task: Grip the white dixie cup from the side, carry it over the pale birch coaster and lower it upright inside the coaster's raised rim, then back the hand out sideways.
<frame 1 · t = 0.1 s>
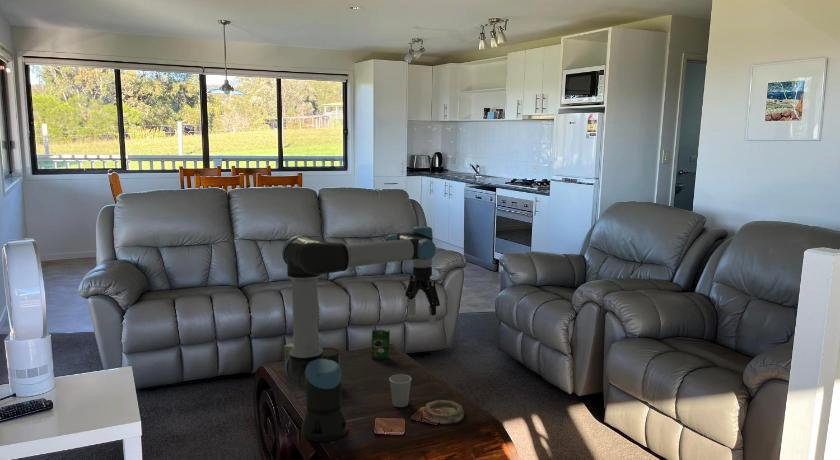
hand: (421, 318, 237), 28 cm above the table, tool pointing down, fingers open, 13 cm apart
rimmed coaster: (443, 414, 215), on the table
coffee box: (380, 358, 272), on the table
skincare box: (293, 373, 254), on the table
dixie cup: (400, 404, 224), on the table
coffee can: (327, 385, 241), on the table
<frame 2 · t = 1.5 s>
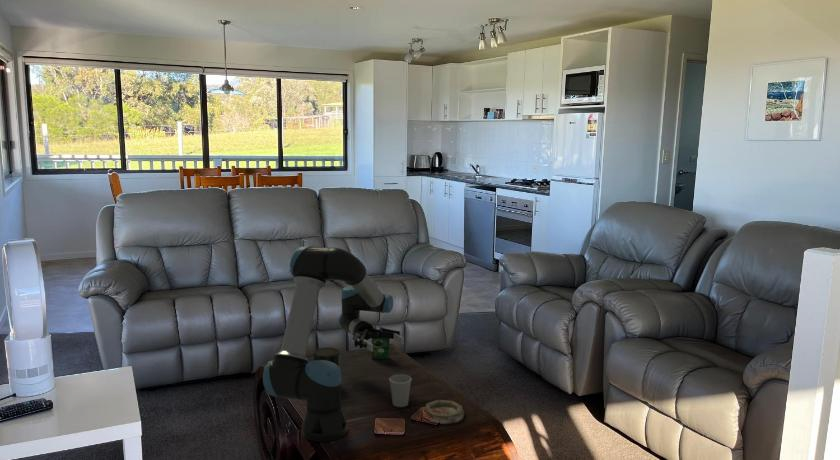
hand: (387, 344, 229), 20 cm above the table, tool horizontal, fingers open, 13 cm apart
nothing on the table moved.
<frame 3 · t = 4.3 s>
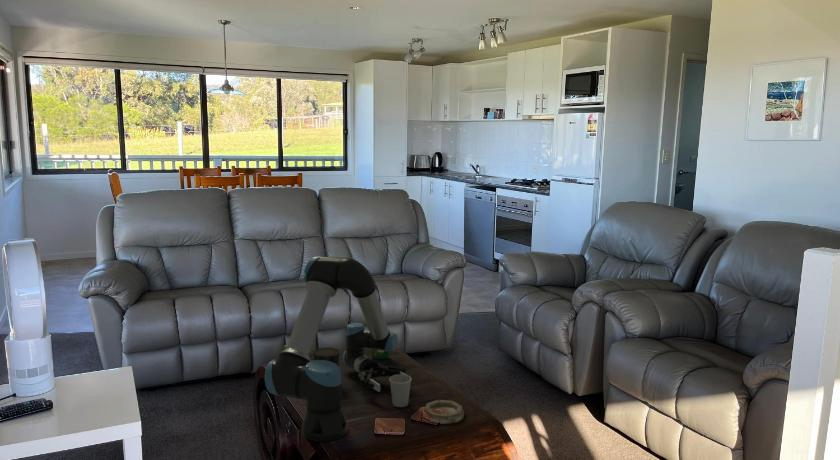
hand: (394, 384, 227), 6 cm above the table, tool horizontal, fingers open, 13 cm apart
nothing on the table moved.
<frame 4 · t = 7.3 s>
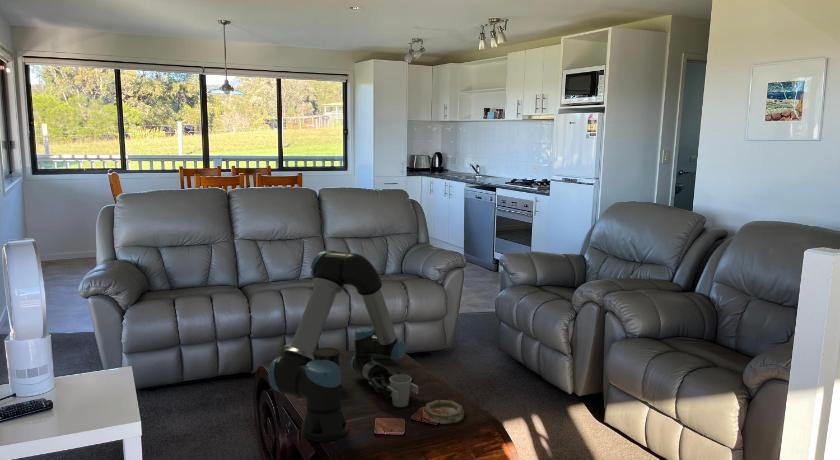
hand: (407, 392, 219), 6 cm above the table, tool horizontal, fingers closed on dixie cup, 8 cm apart
dixie cup: (400, 404, 224), on the table, touching gripper
everything else where it was.
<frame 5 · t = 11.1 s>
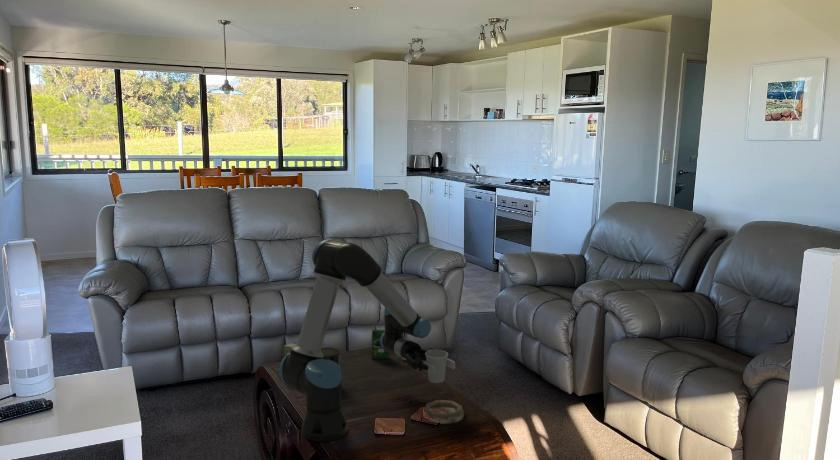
hand: (444, 368, 212), 18 cm above the table, tool horizontal, fingers closed on dixie cup, 8 cm apart
dixie cup: (436, 380, 216), point 12 cm above the table, touching gripper
everything else where it was.
when the fingers open (8 cm above the table, at t = 15.0 s): dixie cup drops 1 cm, resting on rimmed coaster.
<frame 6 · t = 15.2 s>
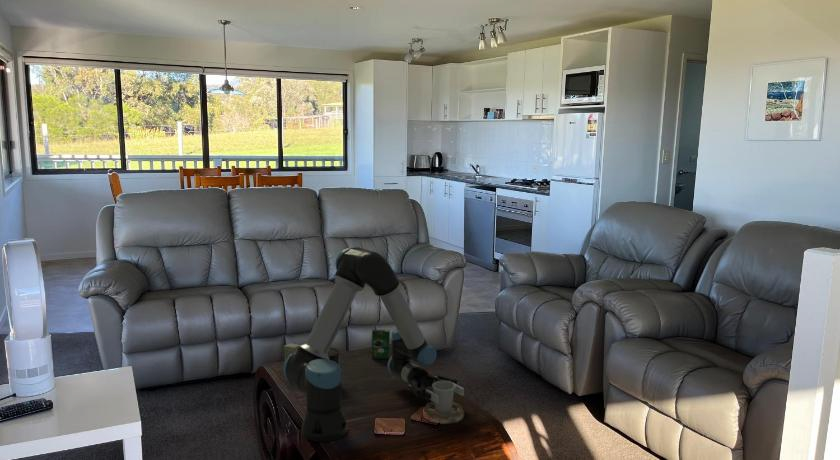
hand: (450, 395, 211), 8 cm above the table, tool horizontal, fingers open, 10 cm apart
dixie cup: (443, 411, 215), point 1 cm above the table, touching rimmed coaster
everything else where it was.
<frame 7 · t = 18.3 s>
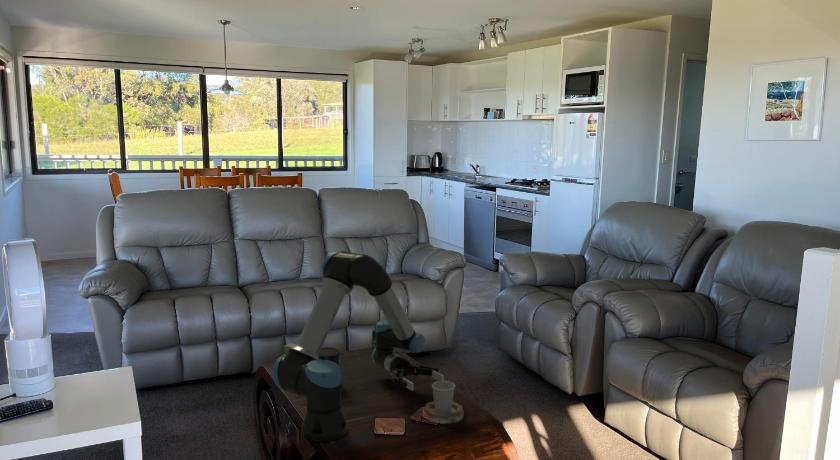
hand: (428, 383, 222), 9 cm above the table, tool horizontal, fingers open, 13 cm apart
nothing on the table moved.
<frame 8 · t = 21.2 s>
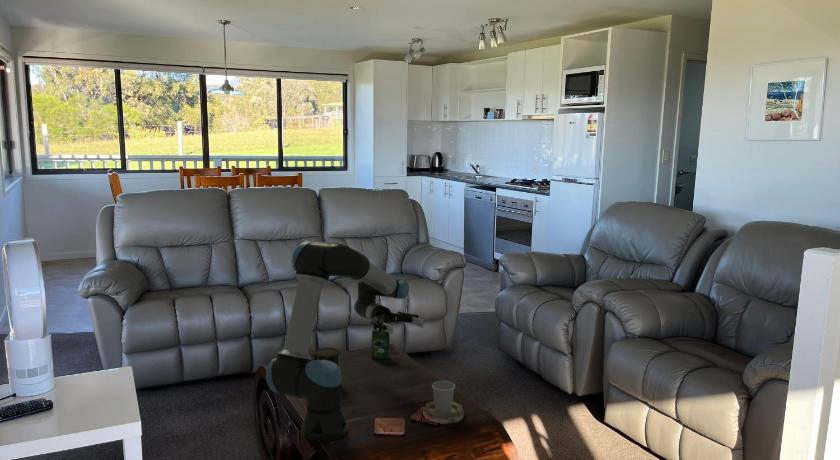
hand: (407, 327, 225), 28 cm above the table, tool horizontal, fingers open, 13 cm apart
nothing on the table moved.
at the end: dixie cup 0.1 cm off-centre on the rimmed coaster, point 0.8 cm above the rimmed coaster's base; dixie cup tilted 0°; the gripper is holding nothing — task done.
